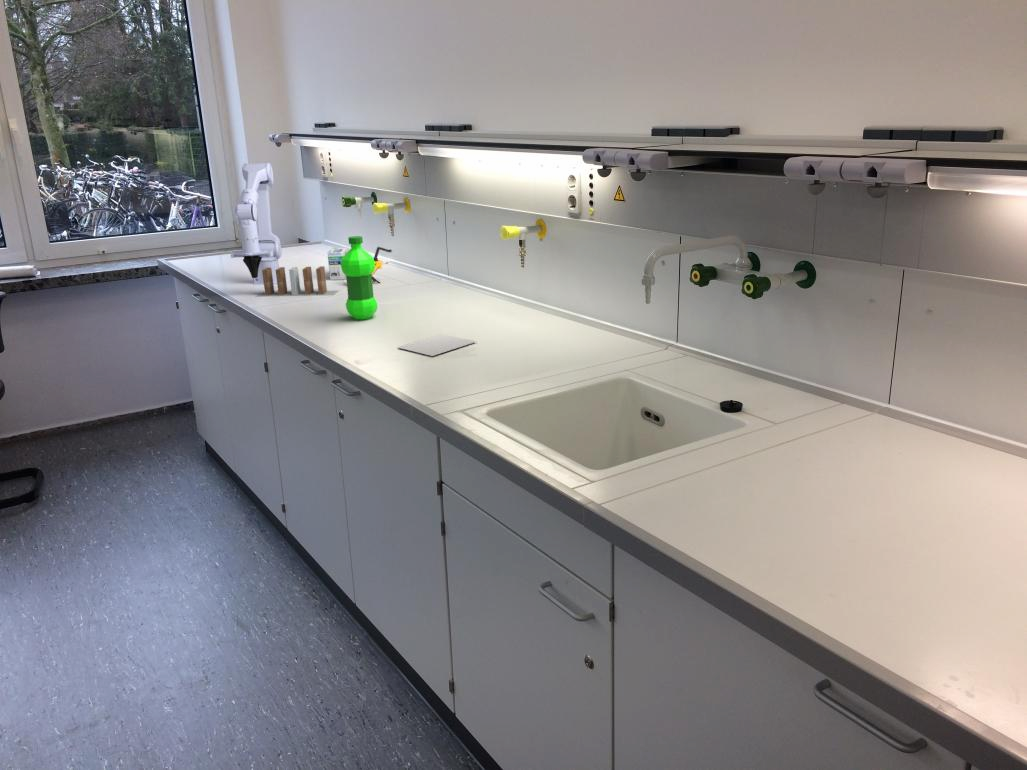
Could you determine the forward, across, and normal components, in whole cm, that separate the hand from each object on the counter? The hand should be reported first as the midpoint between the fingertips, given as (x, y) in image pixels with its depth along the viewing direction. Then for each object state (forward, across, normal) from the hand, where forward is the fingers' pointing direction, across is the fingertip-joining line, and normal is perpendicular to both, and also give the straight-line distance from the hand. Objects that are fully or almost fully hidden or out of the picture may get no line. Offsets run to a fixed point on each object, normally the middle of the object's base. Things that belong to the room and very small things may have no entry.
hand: (254, 277), depth 297 cm
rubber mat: (+6, +15, 0) cm, 16 cm away
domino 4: (+6, +24, 0) cm, 25 cm away
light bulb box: (+7, +22, +30) cm, 38 cm away
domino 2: (+6, +10, 0) cm, 11 cm away
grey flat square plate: (+7, +77, -74) cm, 107 cm away
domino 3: (+6, +19, 0) cm, 20 cm away
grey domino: (+6, +14, 0) cm, 16 cm away
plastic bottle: (+7, +47, -35) cm, 59 cm away
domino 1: (+6, +5, 0) cm, 8 cm away
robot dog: (+7, +38, +16) cm, 41 cm away
